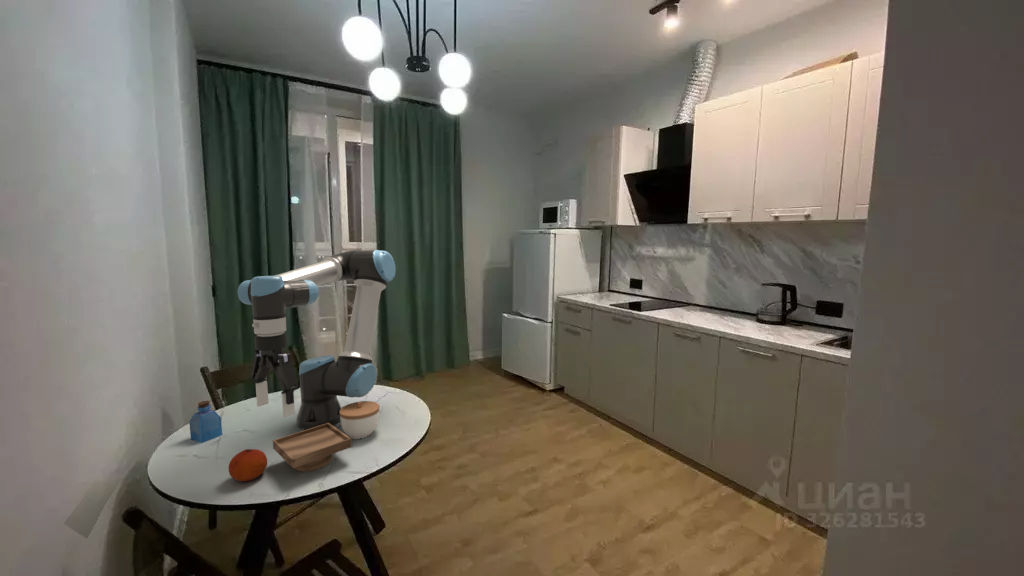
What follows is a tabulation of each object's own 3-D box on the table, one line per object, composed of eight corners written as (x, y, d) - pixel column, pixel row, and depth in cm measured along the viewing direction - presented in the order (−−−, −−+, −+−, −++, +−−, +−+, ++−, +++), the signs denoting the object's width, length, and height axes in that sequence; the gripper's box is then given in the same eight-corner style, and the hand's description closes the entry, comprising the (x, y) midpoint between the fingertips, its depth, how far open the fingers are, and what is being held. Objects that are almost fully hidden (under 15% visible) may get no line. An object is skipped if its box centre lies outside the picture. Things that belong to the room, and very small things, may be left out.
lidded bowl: (357, 446, 128) (355, 413, 127) (332, 437, 135) (330, 404, 134) (388, 431, 139) (387, 399, 138) (364, 422, 145) (363, 393, 144)
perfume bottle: (222, 435, 137) (219, 400, 136) (201, 443, 131) (198, 407, 130) (211, 431, 139) (208, 397, 138) (190, 439, 134) (187, 404, 133)
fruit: (274, 474, 113) (273, 446, 112) (239, 490, 105) (237, 461, 105) (258, 465, 118) (256, 438, 117) (223, 480, 110) (221, 452, 109)
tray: (274, 463, 119) (272, 440, 118) (329, 443, 130) (328, 422, 129) (294, 484, 108) (292, 459, 107) (352, 461, 119) (351, 438, 118)
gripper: (233, 331, 113) (238, 405, 115) (281, 341, 99) (286, 425, 101) (261, 326, 119) (266, 396, 121) (310, 336, 106) (314, 414, 108)
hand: (275, 410), depth 111 cm, fingers open, 13 cm apart
